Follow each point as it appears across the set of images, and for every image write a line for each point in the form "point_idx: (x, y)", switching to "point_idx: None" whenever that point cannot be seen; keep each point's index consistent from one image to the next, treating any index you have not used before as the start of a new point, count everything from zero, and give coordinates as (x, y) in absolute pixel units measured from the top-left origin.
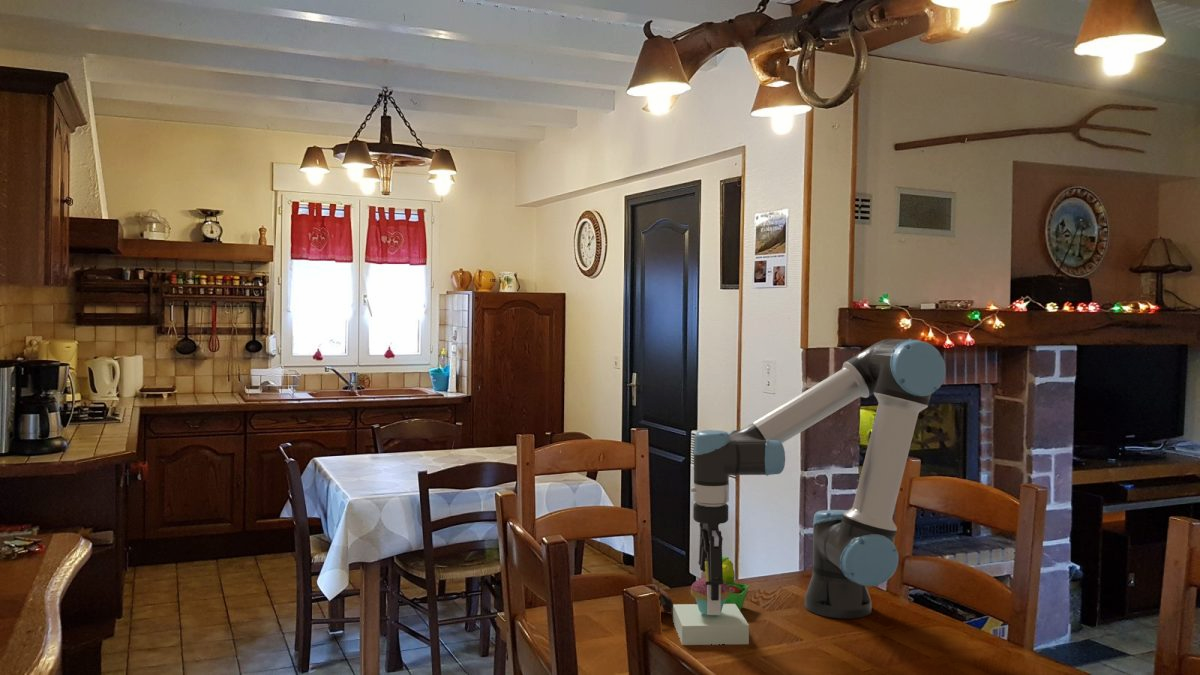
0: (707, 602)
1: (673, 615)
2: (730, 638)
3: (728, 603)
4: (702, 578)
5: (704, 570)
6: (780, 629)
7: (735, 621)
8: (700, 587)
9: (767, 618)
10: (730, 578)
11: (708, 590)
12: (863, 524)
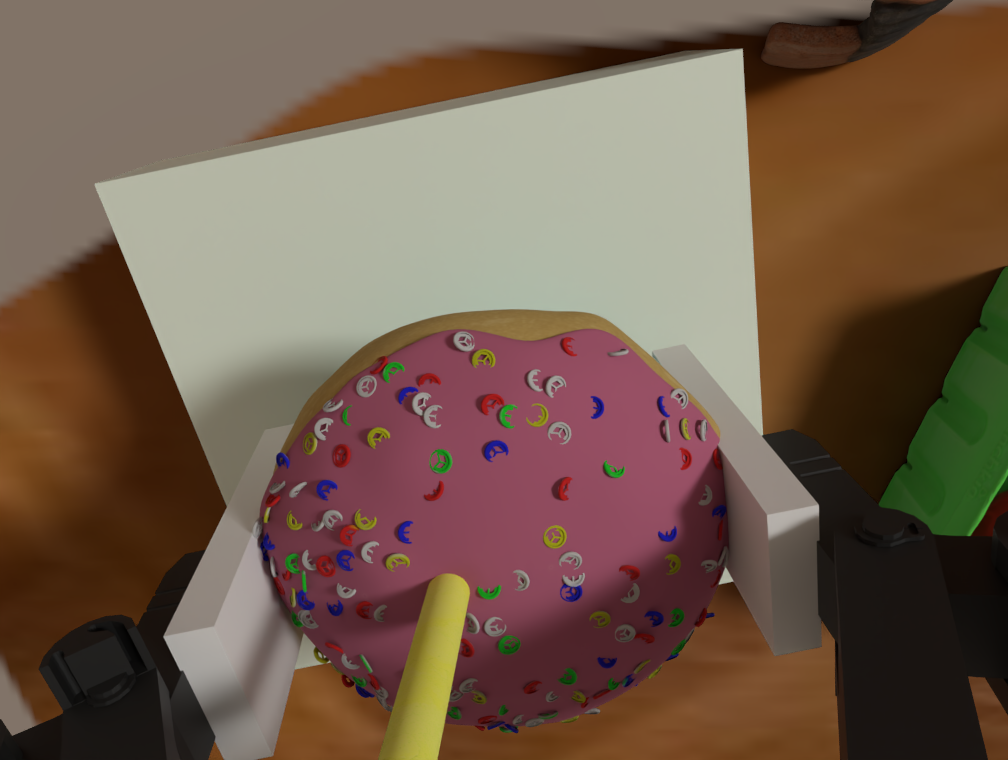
0: (261, 483)
1: (678, 56)
2: None
3: (931, 490)
4: (603, 516)
5: (825, 563)
6: (601, 716)
7: None
8: (320, 483)
9: (783, 658)
10: None
11: (191, 584)
12: None
